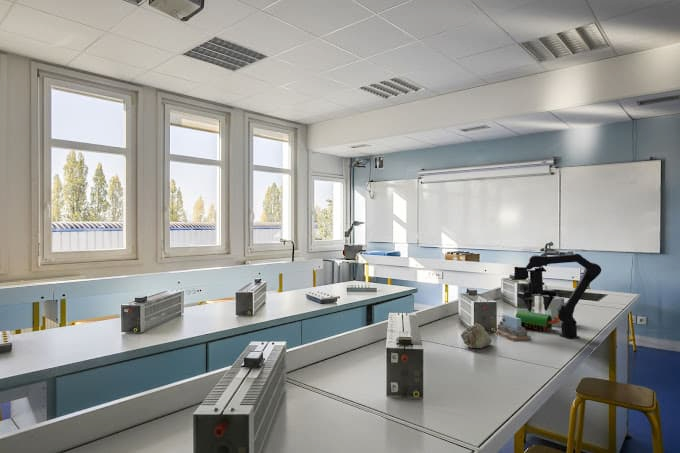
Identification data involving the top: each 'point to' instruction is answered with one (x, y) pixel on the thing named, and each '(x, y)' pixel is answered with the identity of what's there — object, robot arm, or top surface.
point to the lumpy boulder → (476, 336)
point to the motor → (536, 320)
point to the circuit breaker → (555, 309)
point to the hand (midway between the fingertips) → (537, 311)
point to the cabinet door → (511, 321)
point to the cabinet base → (512, 332)
